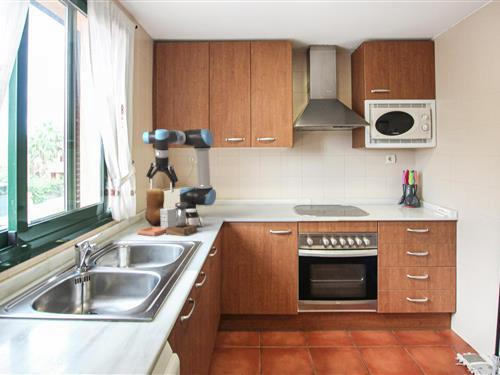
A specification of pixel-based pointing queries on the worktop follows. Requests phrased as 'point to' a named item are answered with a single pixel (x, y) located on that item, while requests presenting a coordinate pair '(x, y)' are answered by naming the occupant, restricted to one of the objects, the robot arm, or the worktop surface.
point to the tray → (152, 231)
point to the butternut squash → (154, 206)
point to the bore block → (181, 230)
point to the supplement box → (168, 217)
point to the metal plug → (181, 214)
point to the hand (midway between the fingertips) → (162, 190)
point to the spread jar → (193, 218)
